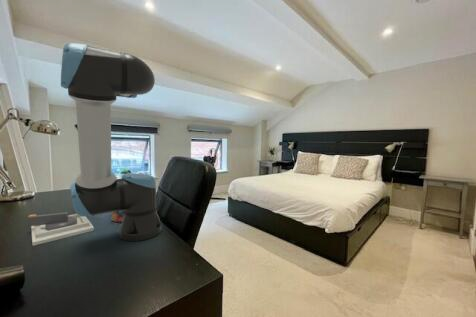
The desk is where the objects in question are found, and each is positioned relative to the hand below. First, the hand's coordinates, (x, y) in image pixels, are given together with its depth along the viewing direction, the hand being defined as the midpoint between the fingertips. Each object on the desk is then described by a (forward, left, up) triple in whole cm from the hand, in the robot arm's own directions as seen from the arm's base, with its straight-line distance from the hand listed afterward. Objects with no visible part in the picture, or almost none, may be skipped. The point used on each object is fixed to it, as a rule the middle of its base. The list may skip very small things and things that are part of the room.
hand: (93, 160), depth 102 cm
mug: (-16, -8, -27) cm, 32 cm away
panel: (-10, +14, -26) cm, 32 cm away
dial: (-9, +16, -25) cm, 31 cm away
